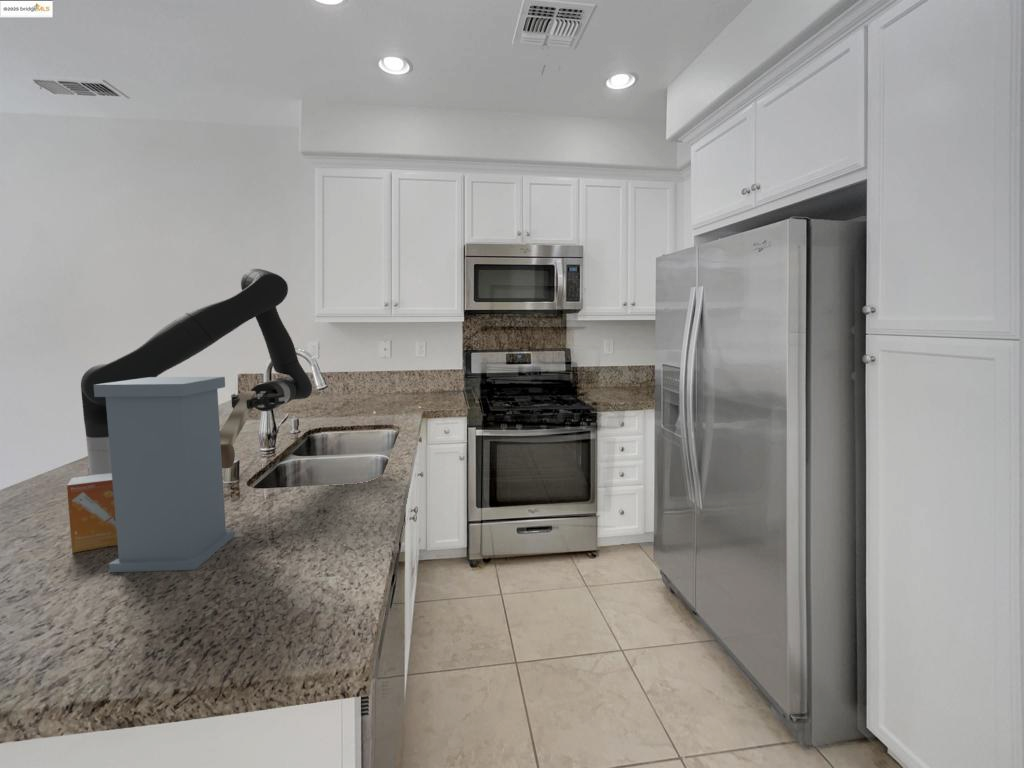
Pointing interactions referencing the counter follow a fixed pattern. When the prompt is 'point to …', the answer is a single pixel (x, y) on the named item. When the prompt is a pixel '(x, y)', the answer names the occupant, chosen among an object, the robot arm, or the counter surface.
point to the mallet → (234, 428)
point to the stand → (165, 471)
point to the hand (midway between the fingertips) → (241, 404)
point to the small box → (91, 512)
